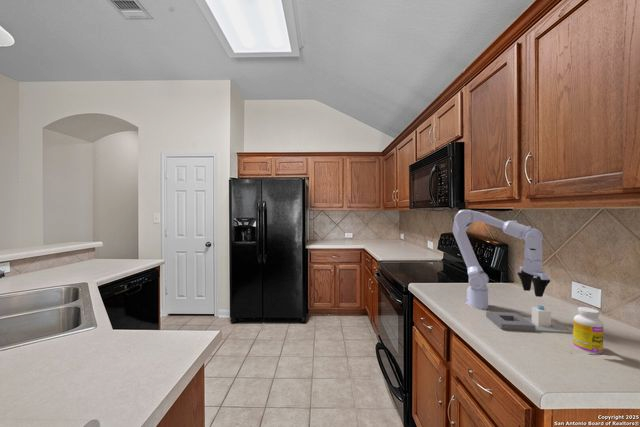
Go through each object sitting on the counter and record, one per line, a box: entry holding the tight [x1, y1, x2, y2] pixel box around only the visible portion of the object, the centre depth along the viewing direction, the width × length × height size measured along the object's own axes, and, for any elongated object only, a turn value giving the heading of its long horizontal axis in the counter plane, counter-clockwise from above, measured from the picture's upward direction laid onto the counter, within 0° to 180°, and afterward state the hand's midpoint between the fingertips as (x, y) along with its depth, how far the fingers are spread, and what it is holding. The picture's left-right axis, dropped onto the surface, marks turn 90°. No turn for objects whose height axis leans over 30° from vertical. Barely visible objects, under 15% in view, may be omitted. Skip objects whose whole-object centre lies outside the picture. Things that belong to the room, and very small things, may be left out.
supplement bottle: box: [572, 306, 604, 356], centre depth 85 cm, size 7×7×13 cm
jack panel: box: [485, 310, 571, 334], centre depth 102 cm, size 12×22×3 cm, turn 82°
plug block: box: [531, 305, 552, 327], centre depth 102 cm, size 4×4×8 cm
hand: (532, 293), depth 109 cm, fingers open, 7 cm apart
